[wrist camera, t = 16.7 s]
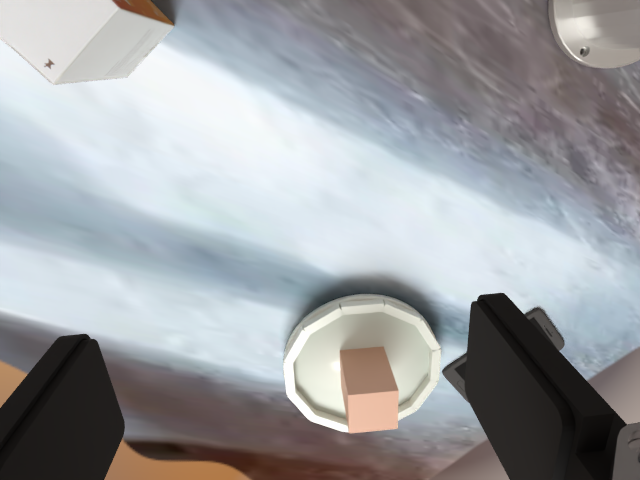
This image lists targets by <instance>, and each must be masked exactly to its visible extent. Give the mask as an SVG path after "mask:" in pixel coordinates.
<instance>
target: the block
mask: <svg viewBox="0 0 640 480" xmlns="http://www.w3.org/2000/svg"><path fill="white" fill-rule="evenodd" d="M340 375H341V389H342V395H343V401H344V406H345V412H346V418H347V424H348V430H349V433H358V432H369V431H379V430H389V429H398V398H399V390H398V387H397V384H396V381H395V378H394V375H393V372H392V370H391V367H390V364H389V361H388V358H387V355H386V352H385V349H384V346H383V347H371V348H360V349H349V350H340Z"/></svg>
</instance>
